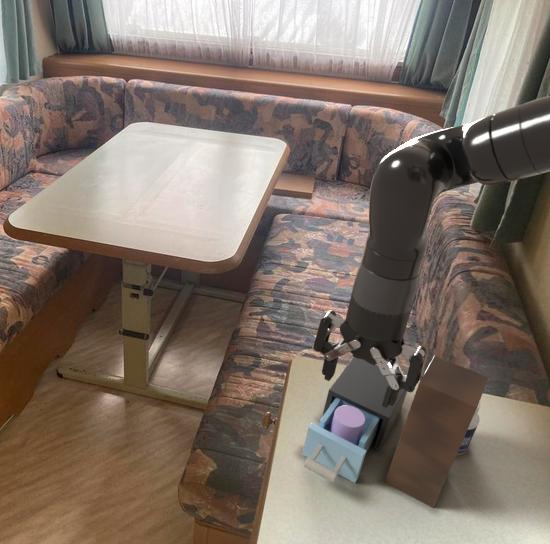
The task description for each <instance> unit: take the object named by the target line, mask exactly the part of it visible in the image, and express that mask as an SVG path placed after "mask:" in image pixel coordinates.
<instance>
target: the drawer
mask: <svg viewBox="0 0 550 544" xmlns="http://www.w3.org/2000/svg"><path fill="white" fill-rule="evenodd" d="M344 405H347V406H352V407H355V408H357V409H359V410H360V411H361V412H362V413H363V414H364V416H365V423H364V427H363V430H362V433H361V437H360V440H359V443H358V446H357V445H355V444H353V443H351V442H349V441H347V440H345V439H343V438H341V437H339V436H337V435H335V434H333V433H331V432H330V429H331V425H332V421H333V417H334V413H335V410H336V409H337V408H338V407H340V406H344ZM322 416H323V415H322ZM381 420H382V419H381V418H379V417H377V416H375V415H372V414H370V413H368V412H366V411H364V410H362V409H360V408H358V407H356V406H353V405H351V404H349V403H347V402H345V401H343V400H341V399H339V398H337V397H336V399H335V400H334V401H333V403H332V404H331V406H330V407H329V409H328V410H327V411H326V413H325V414H324V416H323V417H321V418H320V420H319V422H318V425H317V424H315V423H314V422H311V423H310V424H309V426H308V428H307V432H306V436H305V441H304V445H303V449H302V454H301V455H302V456H303V457H305V458H306V459H305V461H304V463H303V467H304V468H306V469H308V471H309V470H310V471H311V472H313V473H315V474H316V475H318V476H320V477H322V478H324V479H326V480H328V482H329V481H330V482H331V483H333V484H335V483H336V480H337V479H338V477H339V476H341V477H342V478H345V479H347V480H348V481H350V482H351V483H354V484H356V483H357V481H358V479H359V476H360V473H361V470H362V467H363V463H364V461H365V458H366V455H367V452H368V450H369V449H370V447H371V445H372V444H373V442H374V440H375V437H376V434H377V432H378V429H379V426H380V422H381Z"/></svg>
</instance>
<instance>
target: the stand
mask: <svg viewBox="0 0 550 544" xmlns="http://www.w3.org/2000/svg"><path fill="white" fill-rule="evenodd" d="M488 381H489V377H488V376H486V375H484V374H482V373H480V372H476V371H474V370H471V369H469V368H466V367H464V366H461V365H459V364H456V363H455V362H451V361H450V360H446V359H444V358H441V357H439V356H437V355H433V357H432V358H431V360H430V363H429V364H428V366H427V367H426V369H425V371H424V374H423V375H422V377H421V378H420V380H419V382H418V384H417V387H416V392H415V394H414V396H413V399H412V402H411V405H410V408H409V411H408V412H407V413H408V414H407V416H406V419H405V422H404V425H403V428H402V430H401V434H400V436H399V439H398V442H397V444H396V449H395V450H394V453H393V456H392V459H391V462H390V465H389V468H388V471H387V473H386V476H385V478H384V483H385V484H386V485H388V486H390V487H392V488H394V489H396V490H398V491H399V492H401V493H403V494H405V495H407V496H409V497H411V498H413V499H415V500H416V501H418V502H421V503H423V504H424V505H426V506H428V507H430V508H432V509H434V507H435V506H436V504H437V501H438V499H439V497H440V494H441V491H442V489H443V488H444V485H445V482H446V481H447V478H448V476H449V474H450V471H451V470H452V469H451V468H452V466H453V464H454V462H455V459H456V457H457V456H458V455H457V453H458V450H459V448H460V446H461V443H462V441H463V439H464V437H465V434H466V432H467V430H468V427H469V425H470V423H471V420H472V418H473V416H474V414H475V411H476V409H477V407H478V404H479V402H480V401H481V399H482V397H483V394H484V392H485V389H486V386H487V384H488Z"/></svg>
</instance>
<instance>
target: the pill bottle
mask: <svg viewBox="0 0 550 544" xmlns="http://www.w3.org/2000/svg"><path fill="white" fill-rule="evenodd" d="M480 408H481V402H480V401H479V404H478V407H477V409H476V411H475V414H474V416H473V418H472V420H471V423H470V425H469V427H468V430H467V432H466V434H465V437H464V439H463V441H462V443H461V446H460V448H459V450H458V453H457V455H456V456H462V455H464V454H465V453H466V452H467V450H468V449H469V447H470V444H471V443H472V439H473V438H474V435H475V433H476V431H477V428H478V426H479V423H480V415H479V410H480Z"/></svg>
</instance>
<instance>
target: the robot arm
mask: <svg viewBox="0 0 550 544" xmlns="http://www.w3.org/2000/svg"><path fill="white" fill-rule="evenodd" d="M549 172H550V95H546V96H543V97H539V98H536V99H533V100H530V101H527V102H524V103H522V104H518V105H516V106H512V107H510V108H507V109H504V110H501V111H498V112H496V113H492V114H490V115H487V116H485V117H482V118H480V119H478V120H476V121H474V122H471V123H465V124H460V125H457V126H453V127H448V128H444V129H439V130H437V131H433V132H430V133H427V134H424V135H421V136H418V137H415V138H413V139H410V140H409V141H407V142H405V143H404V144H402V145H400V146H398V147H397V148H396V149H394V150H392V151H391V152H389V153H388V154H387V155H385V156H384V157H383V158H382V159H381V161H380V162H379V163H378V165H377V167H376V168H375V171H374V173H373V177H372V180H371V184H370V189H369V198H368V227H369V229H368V232H367V236H366V239H365V244H364V248H363V252H362V257H361V260H360V262H359V266H358V268H357V271H356V273H355V277H354V281H353V285H352V290H351V293H350V299H349V303H348V307H347V311H346V316H345V319H342V318H340V317H338V316H337V314H336V311H335V310H333V309H330V310H328V311H327V312H326V313H325V314H324V315H323V316H322V318H321V319H320V321H319V325H318V328H317V331H316V335H315V339H314V343H313V346H312V348H313V350H314V352H317V353H321V354H322V355H323V357H324V359H323V365H322V369H321V374H322V375H323V376H324V380H325V381H327V382H330V381H331V380H332V379H333V377H334V376H335V373H336V370H337V365H338V361H339V357H340V358H341V357H343V356H344V355H346V354H348V353H350V354H352V358H353V357H356V358H358V359H363V360H365V361H366V362H368V363H370V364H372V365H374V366H375V365H378V367H379V369H380V371H381V373H382V375H383V376H385V377H386V379H387V381H388V383H389V385H388V387H387V390H386V393H385V397H384V400H383V403H382V406H383V407H386V408H387V407H388V405H390V406H393V405H394V403H395V402H396V400H397V398H398V395H399V392H400V389H405V390H406V391H407V393H414V391H415V389H416V388H417V386H418V384H419V382H420V381H421V375H422V373H423V372H422V371H423V367H424V365H425V364H424V363H425V358H426V356H427V349H426V347H425V346H423V345H419V346H417V347H413V346H412V345H411V346H410V345H408V344H406V343H405V341H404V336H405V332H406V329H407V325H408V322H409V319H410V316H411V312H412V309H413V306H414V303H415V302H416V299H417V293H418V290H419V289H418V288H419V283H420V275H421V272H422V269H423V266H424V262H425V258H426V257H427V256H426V255H427V252H428V247H429V243H430V233H429V229H428V228H427V224H428V221H429V217H430V213H431V210H432V208H433V206H434V203H435V200H436V199H437V198H438V197H439V196H440V195H441V194H442V193H445V192H448V191H451V190H454V189H457V188H461V187H466V186H469V185H474V184H477V183H479V184H480V185H483V186H496V185H501V184H506V183H511V182H514V181H515V182H516V181H518V180H522V179H526V178H530V177H534V176H537V175H541V174H545V173H549ZM337 329H339V332H340V335H341V337H342V339H341V340H339V341H338V342H335V343H330V342H329V340H330V336H331V334H332V332H334V331H336V330H337ZM400 355H403V356H404V358H405V359H404V361H405V362H406V365H408V370H407V374H406V375H405V374H404V372H403V370H402V367H401V365H400V363H401V362H400V359H399V357H398V356H400Z"/></svg>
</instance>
